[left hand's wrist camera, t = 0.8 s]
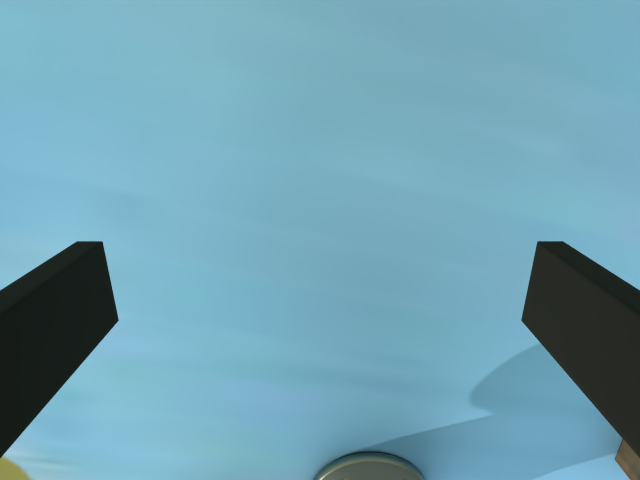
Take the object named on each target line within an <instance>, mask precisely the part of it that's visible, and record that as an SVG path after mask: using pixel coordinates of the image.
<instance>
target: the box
mask: <svg viewBox="0 0 640 480" xmlns="http://www.w3.org/2000/svg"><path fill="white" fill-rule="evenodd" d="M615 461H616V462H617V463H618V464H619V466H620V467H621V468H622V470H623V471H624V472H625V473H626V475H627V476H628V477H629V479H630V480H640V458H639V457H638V456H637V454H636V453H635V452H634V451H633V450H632V449H631V447H630V446H629V445H628V444H627V443H626V442H625V440H624V439H623V441H622V443H621V446H620V448H619V451H618V453H617V456H616V458H615Z"/></svg>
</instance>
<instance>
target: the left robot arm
mask: <svg viewBox="0 0 640 480" xmlns="http://www.w3.org/2000/svg"><path fill="white" fill-rule="evenodd" d="M118 321H119V320H118V315H117V310H116V305H115V300H114V295H113V291H112V286H111V281H110V276H109V271H108V266H107V261H106V256H105V252H104V247H103V242H102V241H77V242H75V243H74V244H72V245H71V246H69V247H68V248H66V249H65V250H63V251H61V252H60V253H58V254H57V255H55V256H54V257H52V258H50V259H49V260H47V261H46V262H44V263H43V264H41V265H40V266H38V267H36V268H35V269H33V270H32V271H30V272H29V273H27V274H25V275H24V276H22V277H21V278H19V279H18V280H16V281H15V282H13V283H11V284H10V285H8V286H7V287H5V288H4V289H2V290H0V458H1V457H2V456H3V454H4V453H5V452H6V451H7V450H8V449H9V447H10V446H11V445H12V444H13V443H14V442H15V440H16V439H17V438H18V437H19V436H20V435H21V433H22V432H23V431H24V430H25V429H26V428H27V426H28V425H29V424H30V423H31V422H32V421H33V420H34V418H35V417H36V416H37V415H38V414H39V413H40V411H41V410H42V409H43V408H44V407H45V406H46V404H47V403H48V402H49V401H50V400H51V399H52V397H53V396H54V395H55V394H56V393H57V392H58V390H59V389H60V388H61V387H62V386H63V385H64V383H65V382H66V381H67V380H68V379H69V378H70V376H71V375H72V374H73V373H74V372H75V371H76V369H77V368H78V367H79V366H80V365H81V364H82V362H83V361H84V360H85V359H86V358H87V357H88V356H89V354H90V353H91V352H92V351H93V350H94V349H95V347H96V346H97V345H98V344H99V343H100V342H101V340H102V339H103V338H104V337H105V336H106V335H107V333H108V332H109V331H110V330H111V329H112V328H113V326H114V325H115V324H116V323H117V322H118ZM521 321H522V322H523V323H524V324H525V325H526V326H527V328H528V329H529V330H530V331H531V332H532V333H533V335H534V336H535V337H536V338H537V339H538V340H539V342H540V343H541V344H542V345H543V346H544V347H545V349H546V350H547V351H548V352H549V353H550V354H551V356H552V357H553V358H554V359H555V360H556V361H557V362H558V364H559V365H560V366H561V367H562V368H563V369H564V371H565V372H566V373H567V374H568V375H569V376H570V378H571V379H572V380H573V381H574V382H575V383H576V385H577V386H578V387H579V388H580V389H581V390H582V392H583V393H584V394H585V395H586V396H587V397H588V399H589V400H590V401H591V402H592V403H593V404H594V406H595V407H596V408H597V409H598V410H599V411H600V413H601V414H602V415H603V416H604V417H605V418H606V420H607V421H608V422H609V423H610V424H611V425H612V426H613V428H614V429H615V430H616V431H617V432H618V433H619V435H620V436H621V437H622V438H623V439H624V440H625V442H626V443H627V444H628V445H629V446H630V447H631V449H632V450H633V451H634V452H635V453H636V454H637V456H638V457H639V458H640V290H638V289H636V288H635V287H633V286H632V285H630V284H629V283H627V282H625V281H624V280H622V279H621V278H619V277H618V276H616V275H615V274H613V273H611V272H610V271H608V270H607V269H605V268H604V267H602V266H600V265H599V264H597V263H596V262H594V261H593V260H591V259H590V258H588V257H586V256H585V255H583V254H582V253H580V252H579V251H577V250H575V249H574V248H572V247H571V246H569V245H568V244H566V243H565V242H563V241H538V242H537V247H536V252H535V256H534V261H533V266H532V271H531V276H530V281H529V286H528V291H527V295H526V300H525V305H524V310H523V315H522V320H521ZM314 480H425V479H424V477H423V476H422V474H421V473H420V472H419V471H418V470H417V469H416V468H415V467H414V466H413V465H412V464H410V463H409V462H407V461H405V460H403V459H401V458H398V457H396V456H392V455H388V454H383V453H358V454H353V455H349V456H345V457H342V458H340V459H337V460H335V461H333V462H332V463H330V464H328V465H327V466H326V467H324V468H323V469H322V470H321V471H320V472H319V473H318V474H317V475H316V477H315V478H314Z"/></svg>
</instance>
